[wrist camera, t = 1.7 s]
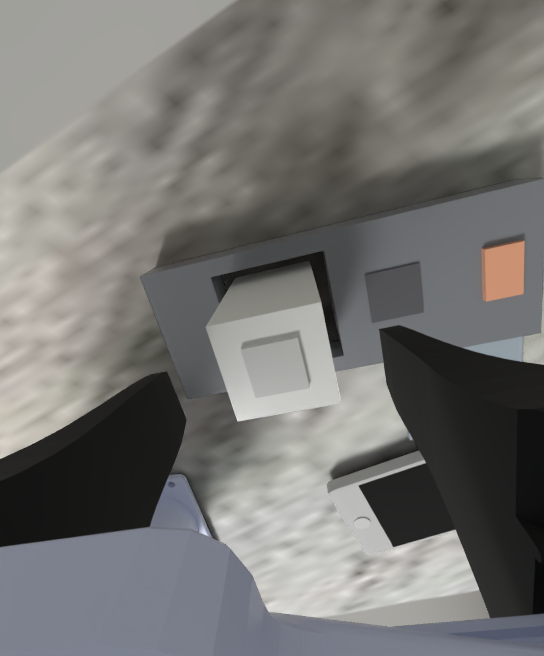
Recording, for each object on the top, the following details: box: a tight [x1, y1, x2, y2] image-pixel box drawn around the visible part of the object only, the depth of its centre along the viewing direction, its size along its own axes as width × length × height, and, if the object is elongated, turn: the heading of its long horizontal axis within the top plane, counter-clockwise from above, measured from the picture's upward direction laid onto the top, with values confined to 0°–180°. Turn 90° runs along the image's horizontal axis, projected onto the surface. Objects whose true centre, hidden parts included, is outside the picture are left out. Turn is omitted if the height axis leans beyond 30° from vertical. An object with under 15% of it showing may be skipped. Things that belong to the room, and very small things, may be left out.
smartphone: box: [327, 451, 456, 555], centre depth 22 cm, size 7×15×1 cm, turn 117°
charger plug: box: [206, 261, 341, 421], centre depth 15 cm, size 4×4×7 cm
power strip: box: [140, 178, 544, 399], centre depth 17 cm, size 18×7×2 cm, turn 104°
